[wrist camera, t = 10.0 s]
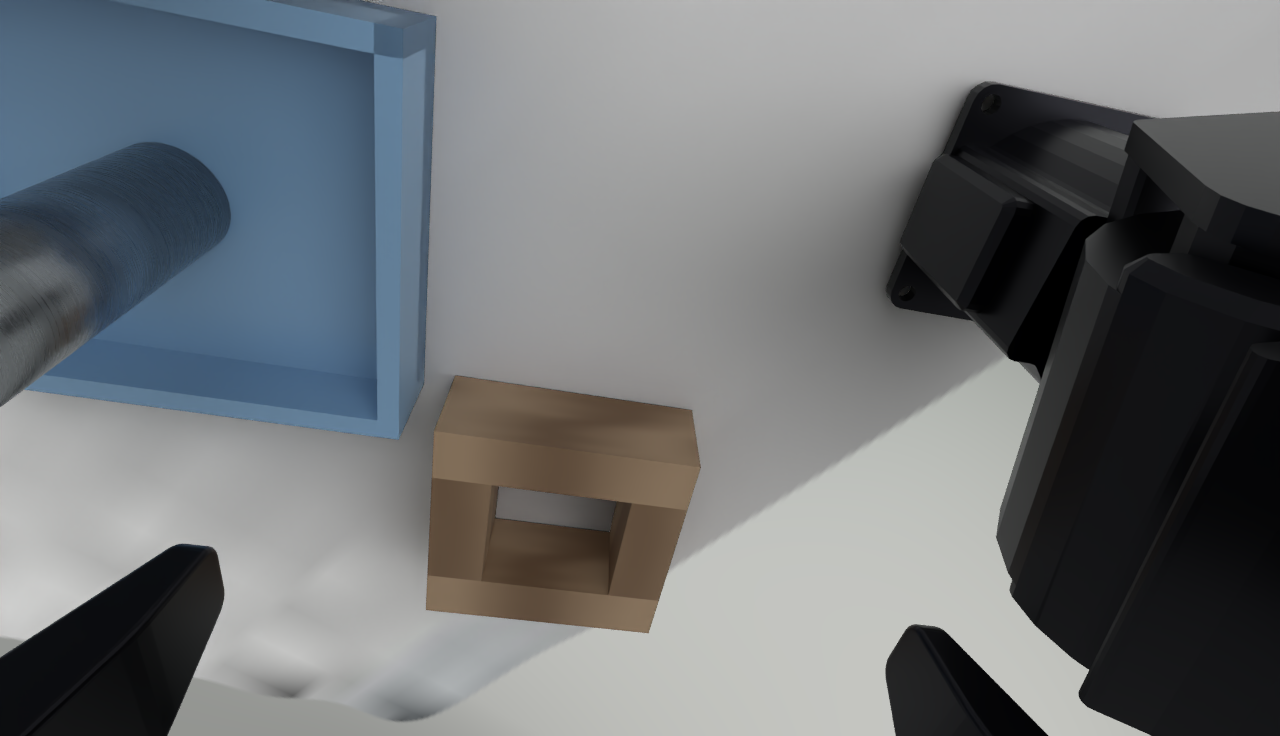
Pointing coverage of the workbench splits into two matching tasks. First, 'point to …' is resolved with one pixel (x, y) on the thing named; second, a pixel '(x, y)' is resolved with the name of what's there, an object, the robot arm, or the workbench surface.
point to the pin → (97, 250)
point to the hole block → (563, 464)
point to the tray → (248, 195)
